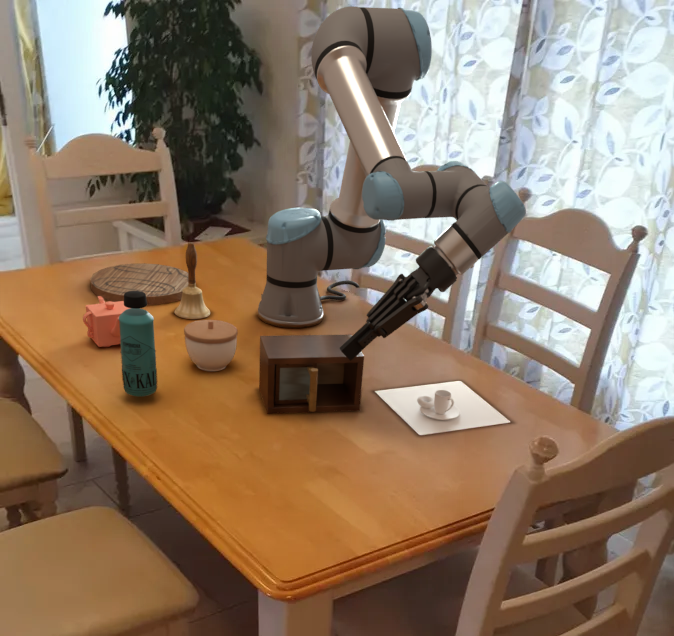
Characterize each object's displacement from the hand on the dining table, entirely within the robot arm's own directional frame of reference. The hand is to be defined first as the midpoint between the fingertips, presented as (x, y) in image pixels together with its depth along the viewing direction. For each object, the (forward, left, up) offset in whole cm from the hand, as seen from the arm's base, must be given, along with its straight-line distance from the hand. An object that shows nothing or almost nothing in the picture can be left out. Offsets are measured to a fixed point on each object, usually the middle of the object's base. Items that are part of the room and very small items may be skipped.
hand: (345, 354), depth 164 cm
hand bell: (-8, -61, -13) cm, 63 cm away
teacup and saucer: (-20, +7, -13) cm, 25 cm away
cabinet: (0, -10, -13) cm, 16 cm away
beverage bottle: (+26, -29, -13) cm, 41 cm away
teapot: (+16, -56, -13) cm, 59 cm away
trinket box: (+6, -34, -13) cm, 36 cm away
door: (+6, -6, -11) cm, 14 cm away
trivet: (-8, -82, -13) cm, 83 cm away
